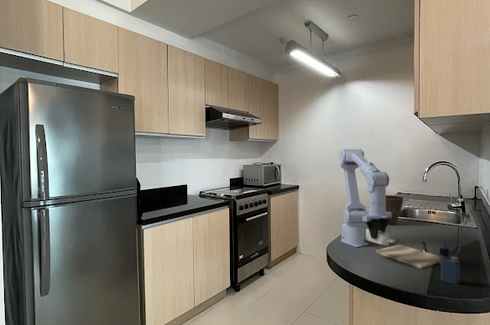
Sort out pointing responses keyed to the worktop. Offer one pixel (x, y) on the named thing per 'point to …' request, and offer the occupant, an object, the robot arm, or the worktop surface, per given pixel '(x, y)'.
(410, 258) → the wood pad
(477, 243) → the worktop surface
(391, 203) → the plant pot
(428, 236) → the worktop surface
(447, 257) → the vaping device
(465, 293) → the worktop surface
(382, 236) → the usb connector
